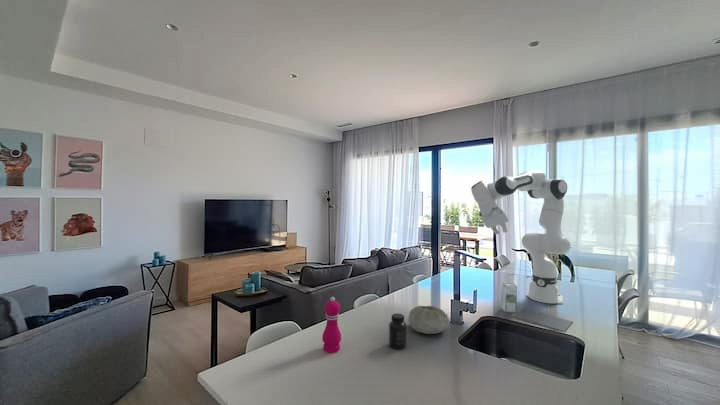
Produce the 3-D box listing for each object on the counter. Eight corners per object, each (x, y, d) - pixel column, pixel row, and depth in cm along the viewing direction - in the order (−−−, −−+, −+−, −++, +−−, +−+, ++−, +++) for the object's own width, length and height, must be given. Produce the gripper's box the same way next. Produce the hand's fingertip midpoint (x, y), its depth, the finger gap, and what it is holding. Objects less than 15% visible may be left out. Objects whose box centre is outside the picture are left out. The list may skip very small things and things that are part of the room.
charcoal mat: (523, 309, 157) (523, 308, 157) (572, 322, 141) (573, 321, 141) (512, 317, 146) (512, 316, 146) (564, 332, 130) (564, 331, 130)
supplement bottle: (407, 343, 117) (408, 313, 117) (404, 351, 111) (405, 320, 111) (390, 340, 120) (391, 311, 119) (386, 348, 113) (387, 317, 113)
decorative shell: (415, 318, 142) (416, 298, 142) (453, 327, 133) (453, 305, 133) (402, 333, 127) (402, 310, 127) (443, 343, 118) (444, 319, 118)
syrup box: (512, 309, 158) (512, 282, 158) (516, 313, 152) (517, 285, 152) (501, 308, 158) (501, 281, 158) (505, 312, 152) (505, 284, 152)
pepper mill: (326, 355, 107) (327, 301, 107) (319, 346, 113) (320, 295, 113) (344, 351, 110) (345, 298, 110) (336, 343, 117) (337, 293, 116)
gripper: (503, 203, 150) (516, 228, 147) (487, 210, 170) (498, 232, 167) (492, 208, 149) (505, 233, 146) (477, 214, 169) (488, 237, 166)
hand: (501, 233), depth 157 cm, fingers open, 8 cm apart
